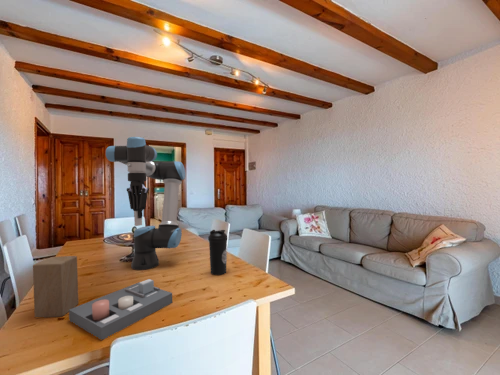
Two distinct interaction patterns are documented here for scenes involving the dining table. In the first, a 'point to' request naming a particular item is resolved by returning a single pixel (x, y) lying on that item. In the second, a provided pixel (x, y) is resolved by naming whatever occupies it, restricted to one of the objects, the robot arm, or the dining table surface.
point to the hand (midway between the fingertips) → (138, 225)
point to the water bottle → (218, 252)
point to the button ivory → (125, 302)
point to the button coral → (100, 310)
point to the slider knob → (146, 286)
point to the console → (117, 317)
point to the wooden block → (55, 286)
